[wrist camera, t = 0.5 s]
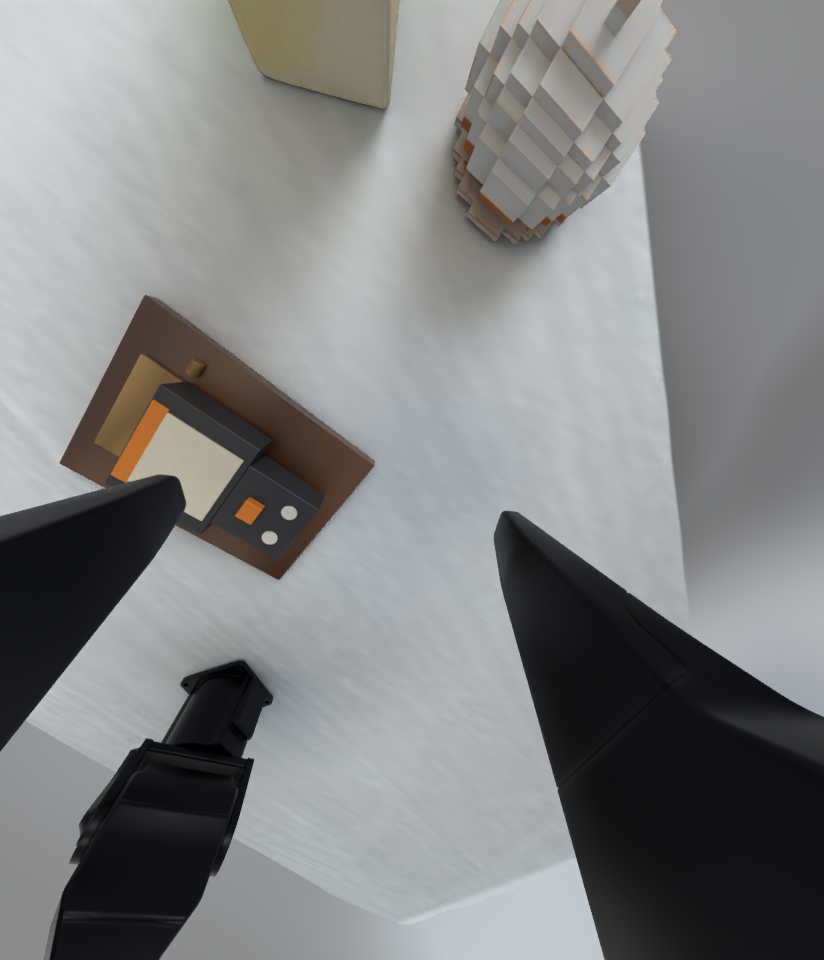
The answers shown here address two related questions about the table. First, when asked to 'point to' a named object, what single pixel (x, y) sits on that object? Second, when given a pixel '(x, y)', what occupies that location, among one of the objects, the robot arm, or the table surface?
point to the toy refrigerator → (324, 44)
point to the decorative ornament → (555, 108)
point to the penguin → (217, 469)
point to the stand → (209, 367)
